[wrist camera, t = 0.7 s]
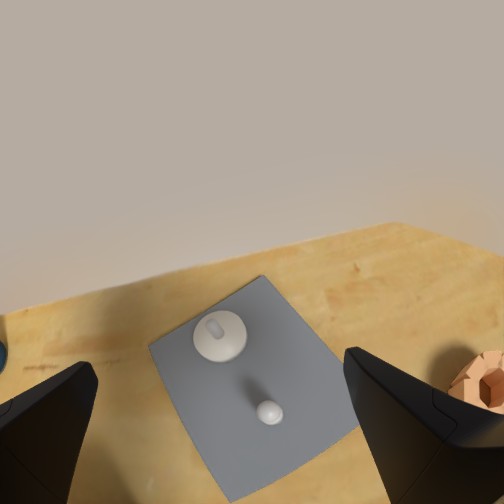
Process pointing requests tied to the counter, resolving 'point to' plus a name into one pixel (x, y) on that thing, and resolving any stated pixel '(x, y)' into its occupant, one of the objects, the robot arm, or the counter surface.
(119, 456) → the counter surface
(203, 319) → the gear board
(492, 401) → the orange gear
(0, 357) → the soda can
